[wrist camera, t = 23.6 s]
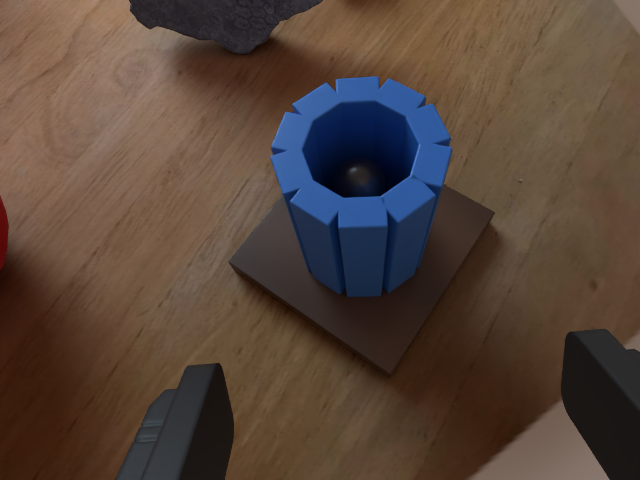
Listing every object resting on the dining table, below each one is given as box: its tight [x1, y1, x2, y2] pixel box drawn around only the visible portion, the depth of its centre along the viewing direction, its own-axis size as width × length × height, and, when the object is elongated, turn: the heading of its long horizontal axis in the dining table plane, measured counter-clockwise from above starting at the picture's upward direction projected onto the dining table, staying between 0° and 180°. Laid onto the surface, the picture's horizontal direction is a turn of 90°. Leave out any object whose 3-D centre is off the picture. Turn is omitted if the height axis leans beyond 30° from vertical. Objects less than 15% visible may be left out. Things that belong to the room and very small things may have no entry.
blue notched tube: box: [270, 76, 452, 297], centre depth 22 cm, size 6×7×8 cm
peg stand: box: [228, 157, 495, 377], centre depth 23 cm, size 10×10×8 cm
